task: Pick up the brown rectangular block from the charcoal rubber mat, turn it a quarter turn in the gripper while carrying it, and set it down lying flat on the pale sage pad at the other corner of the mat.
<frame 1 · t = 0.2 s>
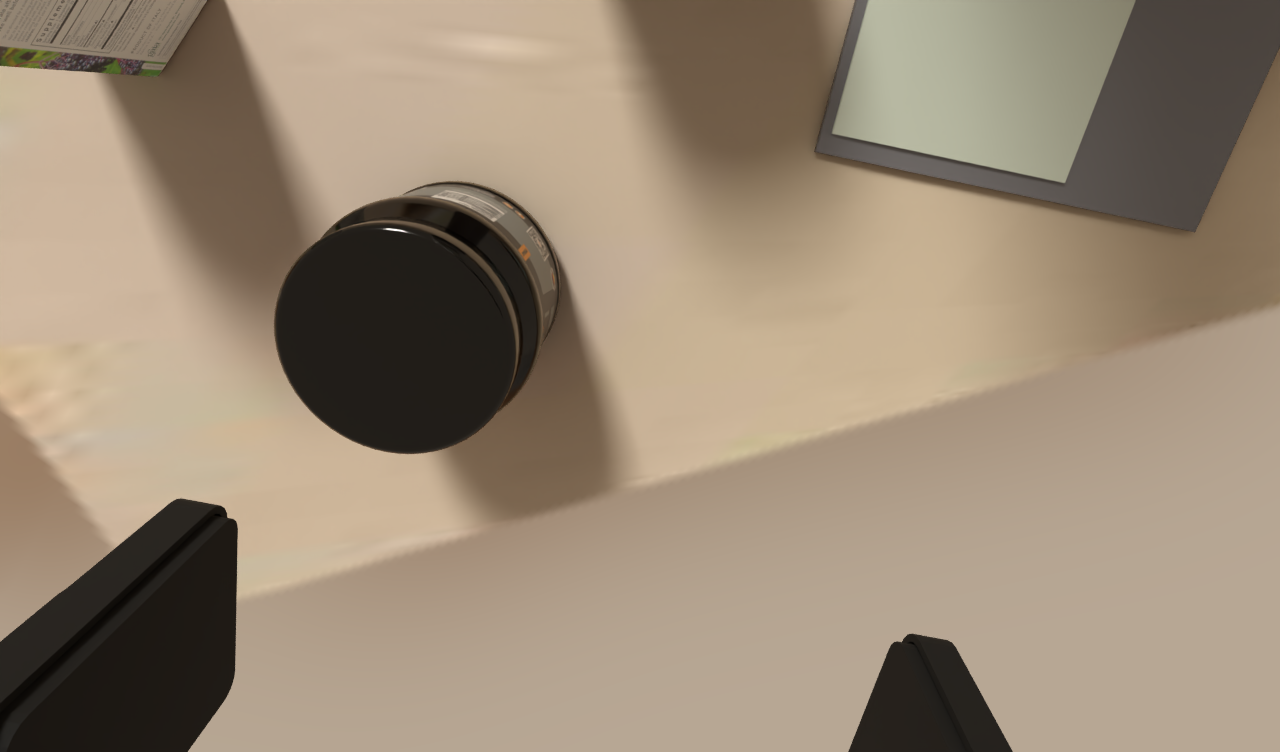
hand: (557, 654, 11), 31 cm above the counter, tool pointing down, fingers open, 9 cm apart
supplement container: (467, 277, 41), on the counter
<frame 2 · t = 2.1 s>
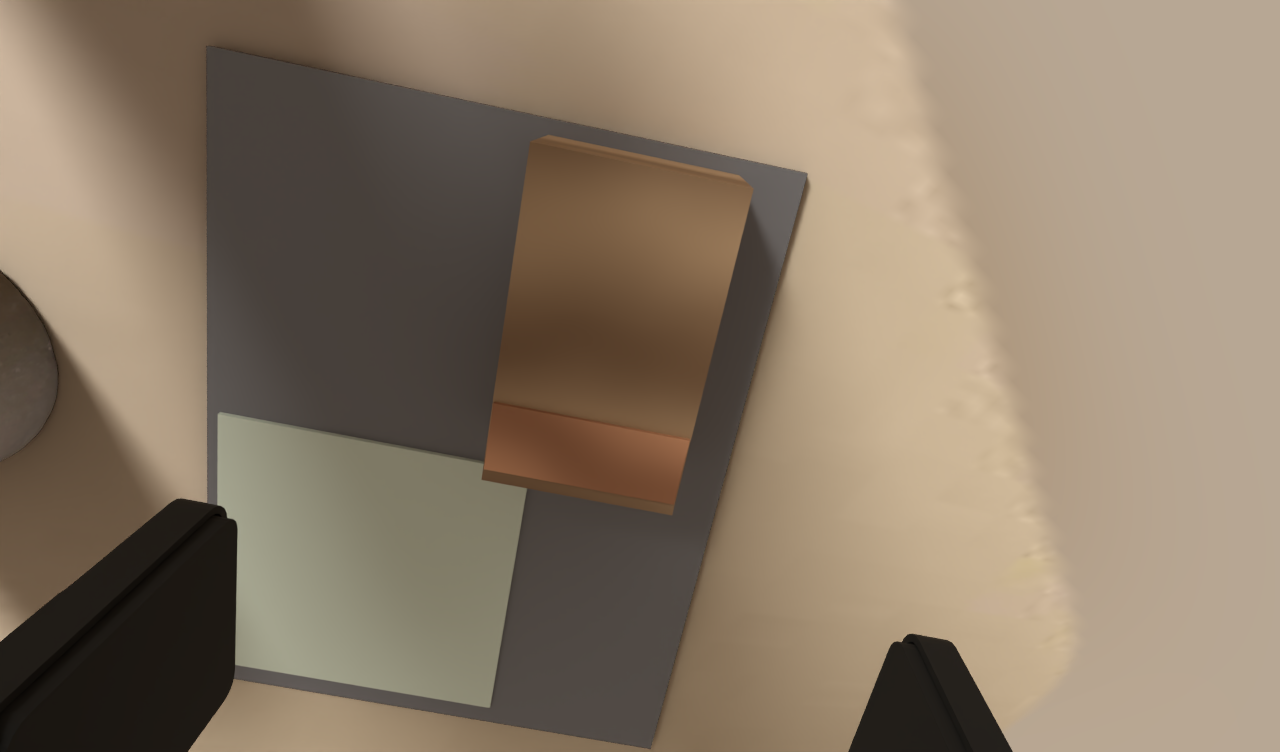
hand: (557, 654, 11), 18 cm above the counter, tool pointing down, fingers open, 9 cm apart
mat: (469, 453, 30), on the counter
brown rectangular block: (613, 310, 27), resting on mat
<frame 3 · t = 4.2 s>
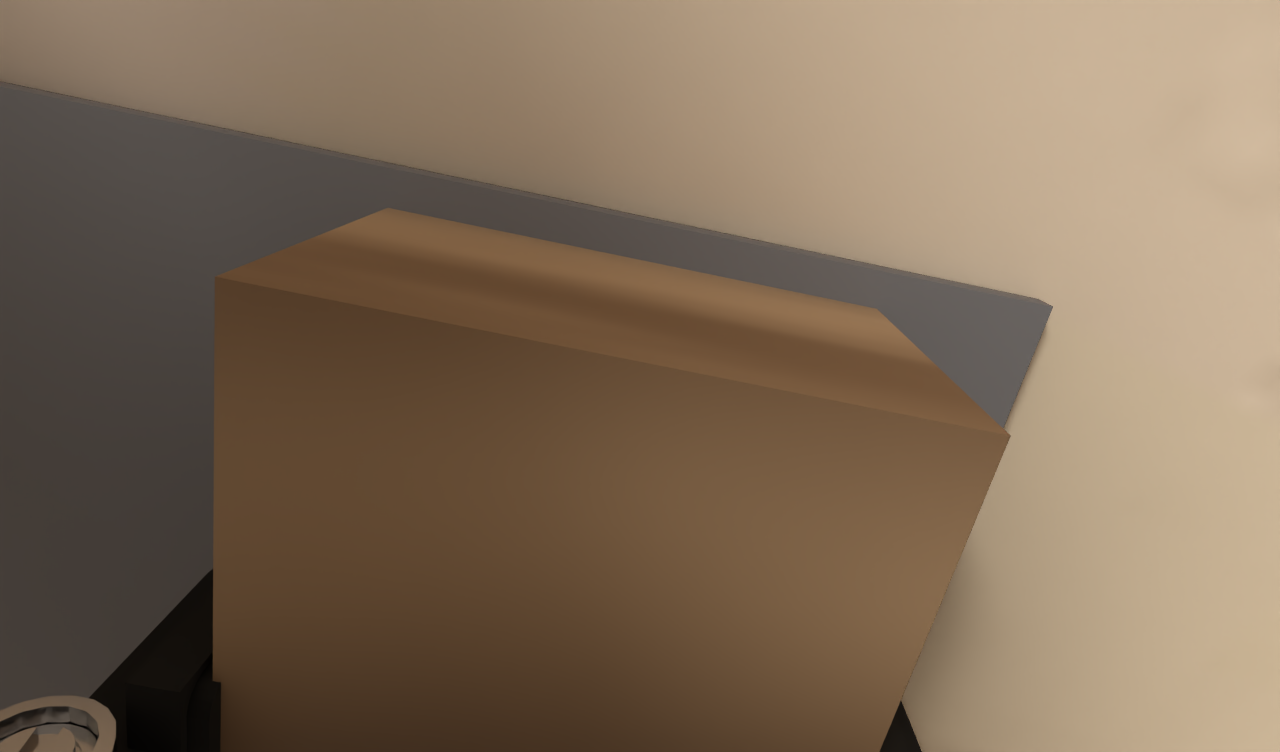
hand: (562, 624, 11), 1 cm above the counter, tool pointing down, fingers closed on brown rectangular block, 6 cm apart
brown rectangular block: (566, 602, 12), resting on mat, touching gripper
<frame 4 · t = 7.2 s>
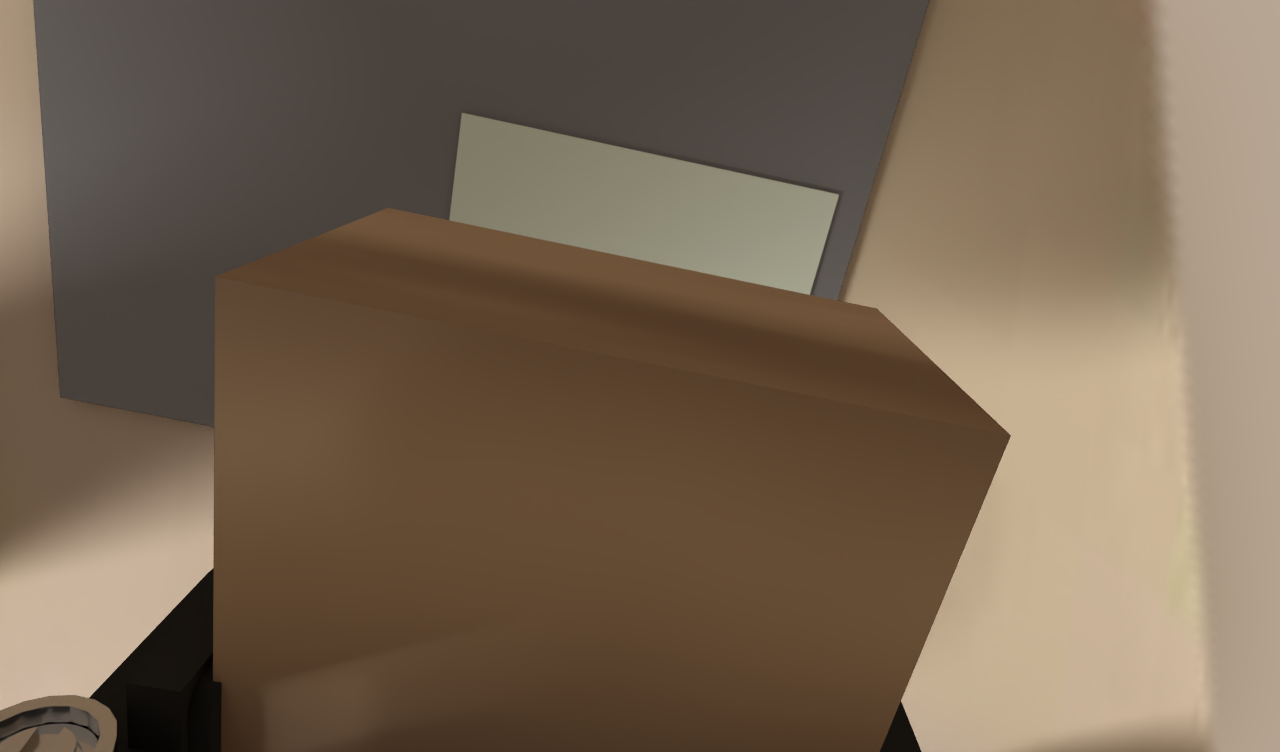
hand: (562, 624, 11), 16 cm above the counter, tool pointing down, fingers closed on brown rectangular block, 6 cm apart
mat: (457, 192, 24), on the counter
brown rectangular block: (566, 602, 12), point 15 cm above the counter, touching gripper
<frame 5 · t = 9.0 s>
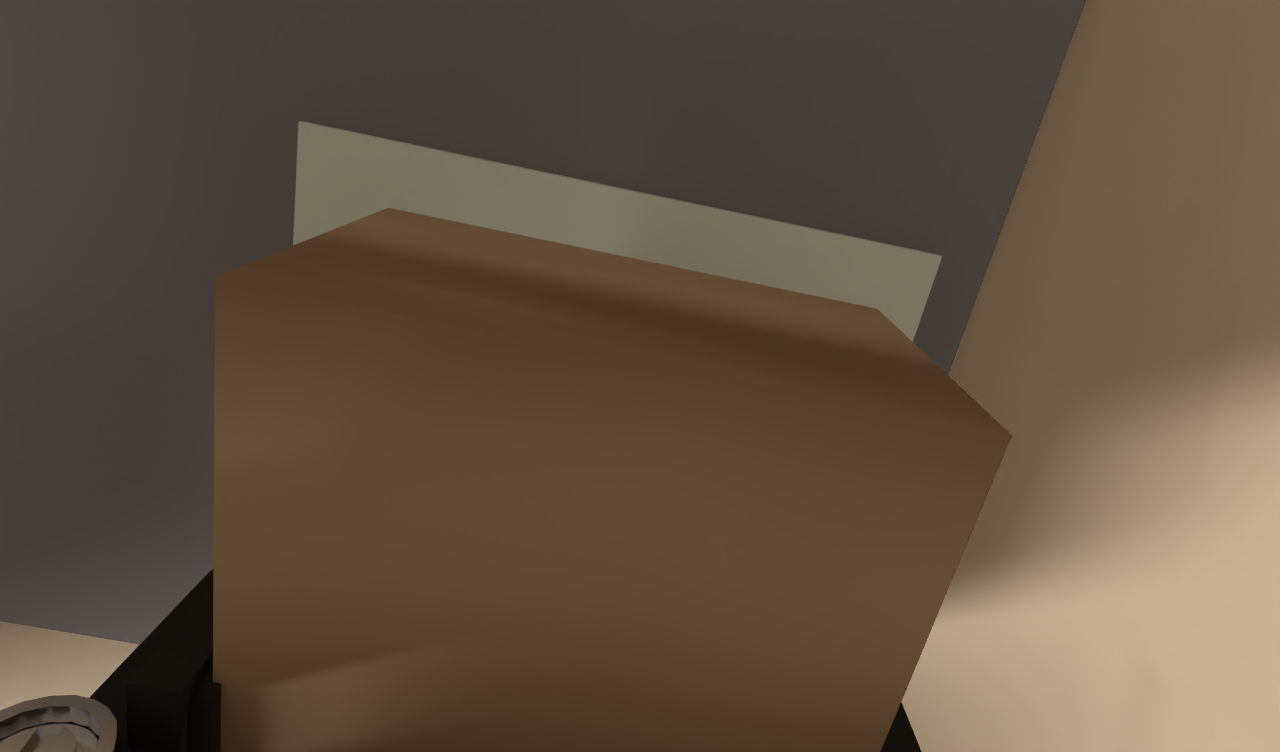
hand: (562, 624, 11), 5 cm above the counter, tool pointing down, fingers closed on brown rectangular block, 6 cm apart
mat: (306, 252, 15), on the counter
brown rectangular block: (566, 602, 12), point 5 cm above the counter, touching gripper
when the fingers open (2 cm above the counter, at t = 10.6 s): brown rectangular block drops 1 cm, resting on mat.
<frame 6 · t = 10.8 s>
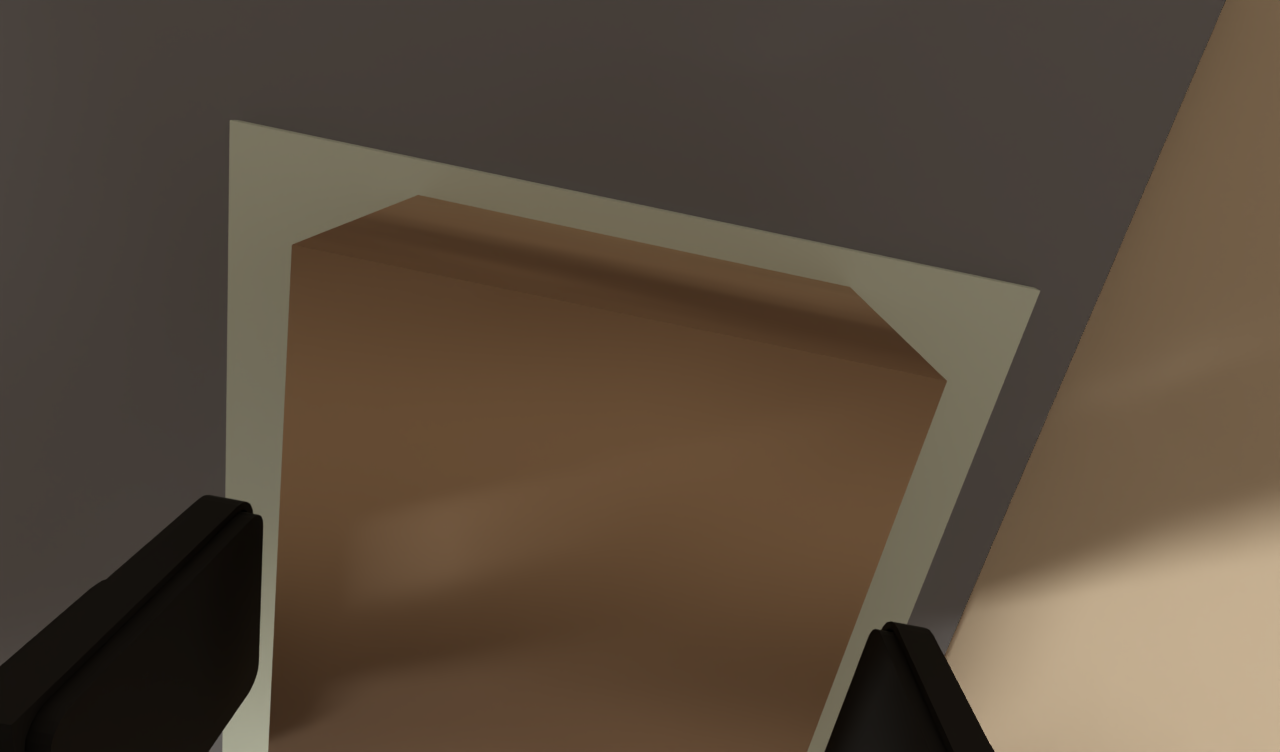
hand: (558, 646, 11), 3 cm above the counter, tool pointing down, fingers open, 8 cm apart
mat: (247, 280, 12), on the counter
brown rectangular block: (572, 553, 13), point 1 cm above the counter, touching mat
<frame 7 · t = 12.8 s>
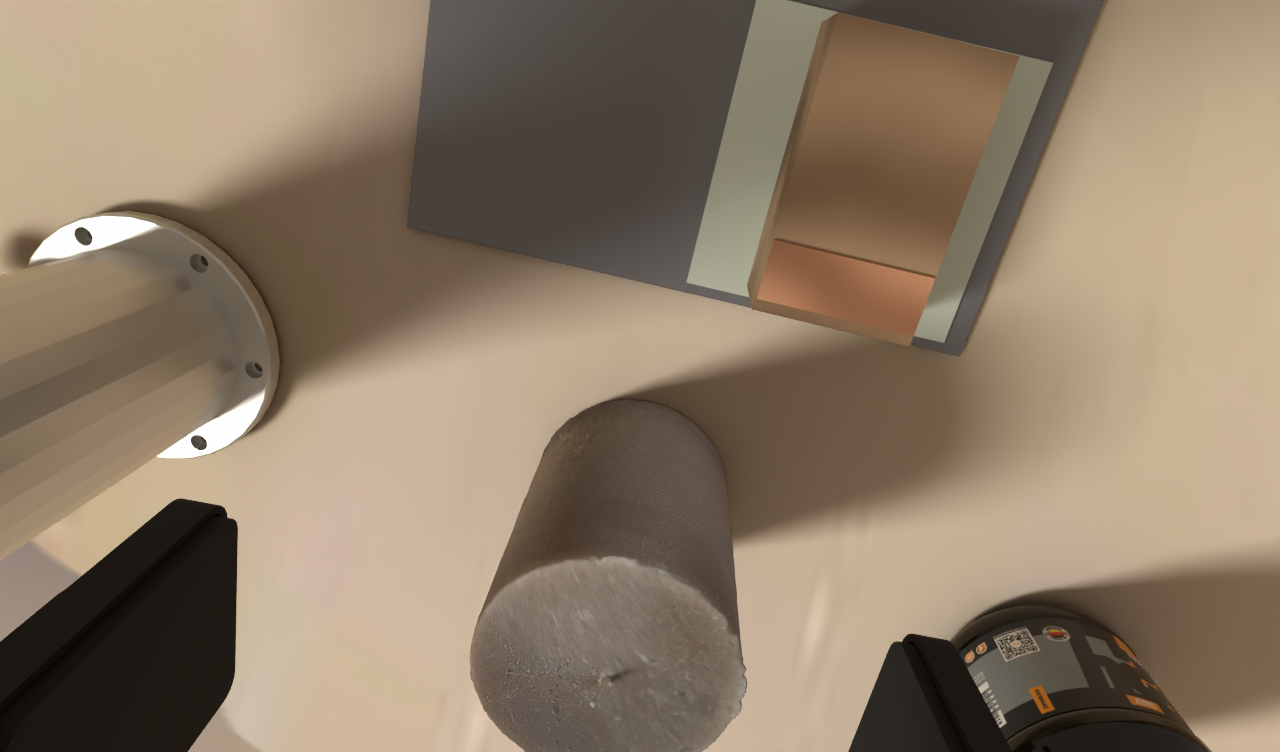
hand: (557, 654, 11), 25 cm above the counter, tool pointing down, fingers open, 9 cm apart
supplement container: (1022, 670, 41), on the counter
mat: (740, 60, 31), on the counter
pillar candle: (636, 481, 39), on the counter
brown rectangular block: (856, 180, 32), point 1 cm above the counter, touching mat
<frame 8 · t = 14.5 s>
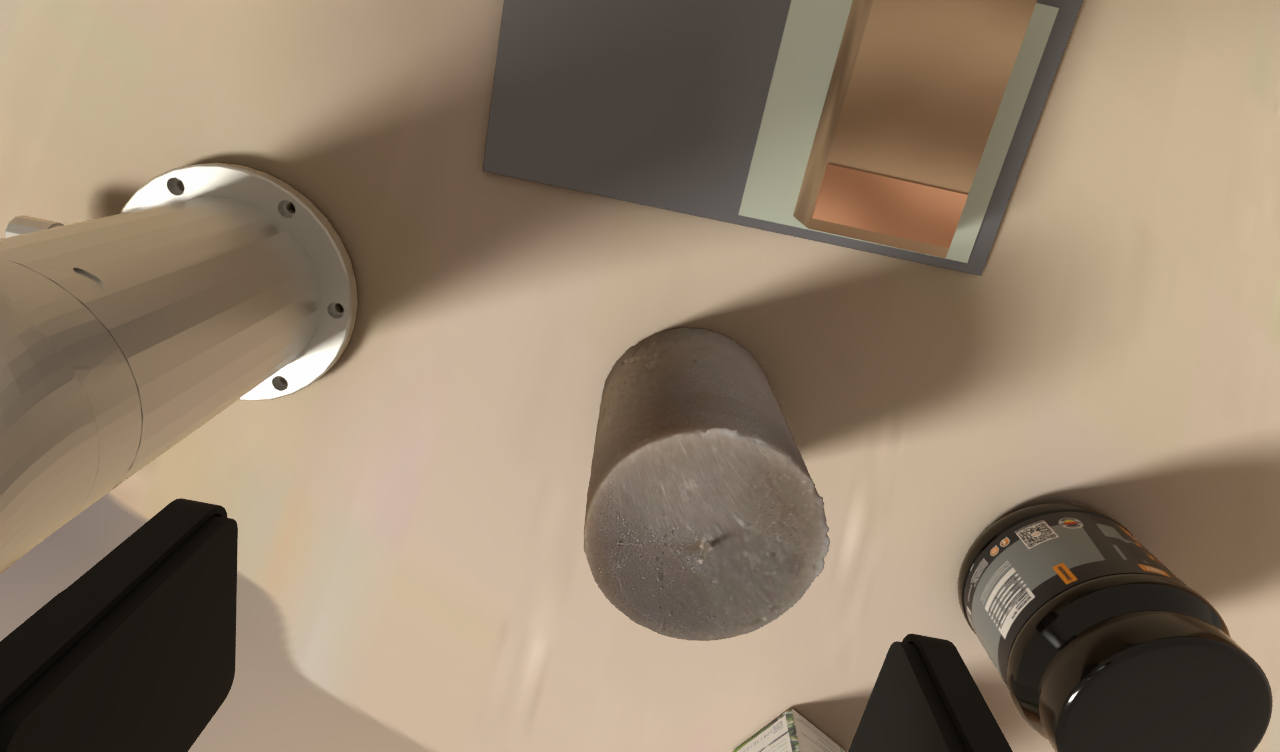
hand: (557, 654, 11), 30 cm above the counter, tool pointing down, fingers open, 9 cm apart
supplement container: (1037, 568, 45), on the counter
mat: (787, 11, 35), on the counter
pillar candle: (689, 406, 42), on the counter
brown rectangular block: (890, 116, 36), point 1 cm above the counter, touching mat
syrup box: (786, 747, 51), on the counter
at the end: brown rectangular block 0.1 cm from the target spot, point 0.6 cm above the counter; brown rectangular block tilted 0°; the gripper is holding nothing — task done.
